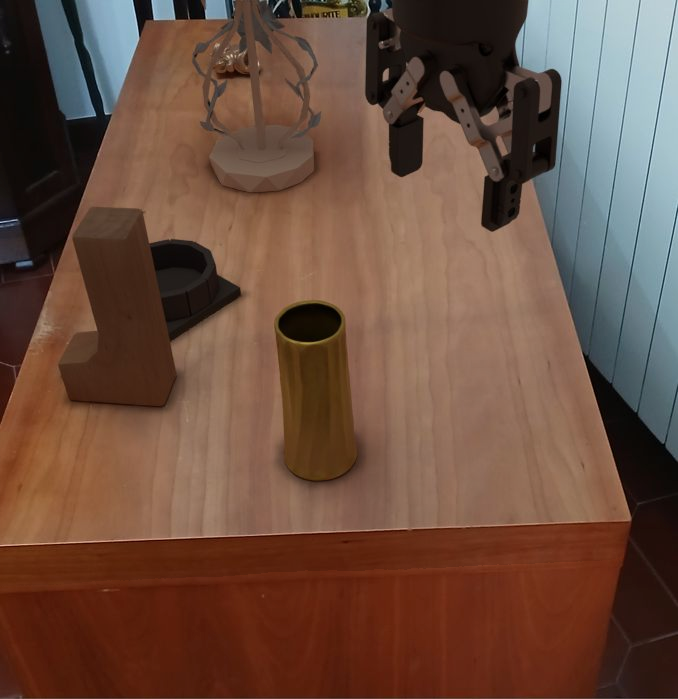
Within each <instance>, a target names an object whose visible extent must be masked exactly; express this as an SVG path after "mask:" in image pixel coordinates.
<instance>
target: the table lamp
mask: <svg viewBox="0 0 678 699" xmlns="http://www.w3.org/2000/svg"><path fill="white" fill-rule="evenodd" d="M200 2H201V5H202V7H203V9H204V11H206V10H207V0H200ZM287 2H288V8H289V9H290V8H291V3H292V0H287ZM232 4H233V8H234V10H233V11H232V14H231V16H232V17H234V18H233V19H232V20H229V21H228V22H226V23H225V24H223V25H222V26H220V29H221V30H219V31H218V33H216V34H215V35H214V36H213V37H212V38H211V39H210V40H207V41H206V42H201V41H200V42H198V43H196V45H195V48H194V51H193V52H192V57H191V58H192V60H191V63H192V65H193V66H194V68H195V70H196V71H197V73H198V74H199V75H200V76H202V77H204V79H203V82H202V86H201V87H202V97H203V105H204V108H205V110H206V112H207V115H206V119H205V121H203V120H198V121H199V124H200V126H201V128H202V129H204V130H205V131H209V132H214V133H217V134H219V135H223V136H221V137H219V138H217V140H216V142H215V144H214V146H213V148H212V151H211V153H210V154H209V161H210V165H211V168H212V170H213V172H214V173H215V176H216V178H217V179H218V181H219V184H220V185H221V186H223V187H226V188H231V189H235V190H239V191H243V192H245V193H246V192H247V193H250V194H251V193H264V192H265V193H266V192H279V191H283V190H285V189H287V188H290V187H293V186H295V185H298V184H300V183H303V181H304V180H306V179H307V178H308V177H309V176H310V175H311V174H313V172H315V156H314V153H315V152H314V143H313V142H314V141H313V140H314V139H313V138H312V137H311V136H309V135H308V134H307V133H308V132H309V131H310V130H311V129H314V128H316V127H318V126H319V125H320V122H321V118H322V111H319V112H318V113H316V114H315V112H314V111H313V109H312V108H311V107H310V102H311V90H310V86H309V83H308V82H309V81H311V78H312V77H313V75H314V73H315V72H316V70H317V69H318V67H319V64H318V61H317V57H316V54H315V53H314V50H313V48H312V46H311V45H310V43H309V41H308V40H307V39H305V38H304V37H301V36H296V35H294V36H292V35H290V34H289V33H286V32H284V31H283V30H280V29H284V28H286V25H285V24H283V22H281V21H279V20H277V16H276V14H275V13H274V11H273V10H272V8H271V6H270V5H268V1H267V0H261V1H260V0H232ZM274 31H275V32H277V33H279V34H281V35H282V36H285V37H287V38H289V39H290V40H293V41H295V42H297V44H298V46H299V47H300V48H301V50H302V51H304V52H307V53H308V55H309V56H310V58H311V59H312V62H313V67H312V68H311V71H310V73H309V74H308V75H307V76H306V72H305V68H304V67H303V66H302V65H301V64H300V62H299V61H298V60H297V59H296V58H295V57H294V55H293V54H292V53H291V52H290V50H289V49H287V47H286V46H285V45H284V43H283V42H282V41H281V40H280V39H279V38H278V36H276V35H275V33H274ZM236 33H237V34H238V35H239V37H240V40H239V42H238V45H239V51H240V54H241V53H242V52H243V51H245V50H246V49H247V52H248V61H249V70H250V74H249V78H250V87H251V98H252V105H253V115H254V124H255V125H252V126H251V125H250V126H245V127H243V128H241V129H238V130H235V131H233V130H232V129H230V128H229V127H227V125H225V124H223V122H221V121H220V120H219V119H218V117H217V114H216V111H215V106H216V103H217V100H218V98H220V97H222V96H223V94H224V93H225V91H226V89H227V84H228V79H226V80H225V81H224V82H222V83H220V84H218V80H216V79H215V78H212V75H213V74H212V73H213V69H215V67H214V66H215V64H216V63H217V61H218V60H219V58H220V56H221V55H222V53H223V52H224V50H225V48H226V47H227V45H228V44H230V42H231V41H232V39H233V37H234V35H235V34H236ZM224 34H226V35H225V37H224V38H223V40H222V41H221V42H220V46H219V48H218V49H217V51H216V53H215V54H214V56H213V57H212V59H210V61H209V64H208V67H207V71H206V73H204V72H203V71H202V69H201V67H200V66H199V64H198V62H197V60H196V59H197V56H198V55H199V54H203V53H205V52H206V51H207V50H208V48H209V47H210V44H211V43H212V42H214V41H216V40H218V39H219V38H220V37H222V36H223V35H224ZM256 42H258V43H260V44H261V46H262V47H263V48H264V49H265V50H266V51H267V52H269V53H270V54H271V55H273V46H272V44H274V45H275V46H276V47H277V48H278V49H279V51H280V52H281V53H282V54H283V56H284V57H285V58H286V59H287V60H288V62H289V63H290V64H291V65H292V66H293V68H294V69H295V71H296V74H297V76H298V79H299V81H297V83H296V85H295V84H294V83H292V82H291V81H290V80H288V78H286V77H284V80H285V82H286V84H287V85H288V86H289V87H290V88H291V89H292V91H293V92H294V93H295V94H296V96H297V97H299V98H300V99H301V100H302V106H301V110H300V111H301V112H300V116H299V119H298V120H297V121H295V123H294V124H293V125H292V126H290V127H289V126H286V125H282V124H269V125H267V124H266V125H265V119H264V111H263V110H264V109H263V102H262V100H263V99H262V92H261V84H260V83H261V82H260V71H259V72H258V63H257V57H258V53H257V46H256ZM272 42H273V43H272ZM211 82H212V84H213V86H214V88H213V94H212V97H211V100H210V98H209V97H210V96H209V94H210V88H211ZM300 85H301V87H302V90H303V92H302V91H301V87H300ZM309 113H310V119H309V120H308V122H307V127H306V128H304V129H303V130H300V129H299V128H300V127H301V125H303V124H304V123H305V122H306V120H307V119H308V118H309ZM211 121H212V122H211ZM212 123H213V124H214V125H215V126H216V127H217V128H219V129H217V128H215V127H214V125H213V124H212Z"/></svg>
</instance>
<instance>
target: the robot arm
mask: <svg viewBox="0 0 678 699" xmlns="http://www.w3.org/2000/svg"><path fill="white" fill-rule="evenodd" d="M529 1H530V0H391V7H390V8H388V9H384V10H382V11H378V12H376V13H373V14H370V15H368V16H367V18H366V28H365V30H366V34H365V35H366V36H365V79H364V80H365V81H364V95H365V99H366V101H367V103H368V104H369V105H371V106H376V105H378V106H379V107H380V108H381V109H382V115H383V116H382V117H383V119H384V121H385V122H386V123H387V124H388V157H389V161H390V172H391V173H393V174H394V175H396V176H398V177H399V178H404V177H406V176H409V175H411V174H413V173H416V172H418V171H419V170H420V169H421V168H422V166H423V163H424V162H423V161H424V160H423V159H424V157H423V156H424V154H423V153H424V120H425V119H424V117H423V116H421V115H420V113H422V112H423V110H424V109H425V108H427V109H428V110H431V111H433V112H440V113H442V114H444V115H445V116H446V117H447V118H448V119H450V121H453V122H455V123H456V124H458V125H460V127H461V129H462V131H463V134H464V136H465V139H466V141H467V143H468V144H469V145H470V146H471V147H473V148H476V149H477V150H478V153H479V156H480V158H481V160H482V163H483V165H484V168H485V170H486V173H487V175H485V176H484V180H483V191H482V192H483V193H482V204H481V206H482V207H481V218H480V225H481V227H482V228H484V229H485V230H487V231H489V232H492V233H493V232H496V231H497V230H499V229H502V228H504V227H505V226H507V225H509V224H511V222H512V221H514V220H516V219H517V218H518V216H519V215H520V209H521V202H522V201H521V199H522V190H523V184H526V183H528V182H529V181H530V180H532V179H534V178H536V177H539V176H540V175H542V174H545V173H548V172H550V171H552V170H553V169H554V168H556V161H557V148H558V134H559V124H560V112H561V111H560V110H561V109H560V108H561V99H562V98H561V97H562V85H563V82H562V81H563V80H562V76H561V74H560V73H559V71H558V70H557V69H554V68H549V69H546V70H543V71H542V72H537V71H533V70H530V69H528V68H524V67H522V66H521V65H520V62H519V59H518V54H517V48H516V43H517V39H518V38H519V34H520V32H521V30H522V28H523V26H524V24H525V22H526V20H527V18H528V12H529V11H528V10H529V3H530V2H529ZM386 70H388V74H387V75H388V76H387V77H388V78H387V79H385V80H384V72H385V71H386ZM495 108H496V110H497V113H498V118H497V121H496V122H494V123H492V124H490V125H489V124H488V125H487V124H485V123H484V122H483V121H482V119H481V118H483V117H485V116H487V115H489V114H490V113H491V112H492V111H493V110H494V109H495ZM497 137H500V138H501V139H502V142H503V144H504V147H505V150H506V152H507V153H506V154H504V155H503V154H502V152H501V150H500V147H499V144H498V142H497Z"/></svg>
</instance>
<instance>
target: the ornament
mask: <svg viewBox="0 0 678 699" xmlns="http://www.w3.org/2000/svg"><path fill="white" fill-rule="evenodd" d="M220 45H221V42H220V41H217V42H215V44H214V46H213V48H212V50H211V52H210V53H209V57H210V60H211V59H212V57H213V56H214V54H215V53H216V51H217V49H218V48H219V46H220ZM257 63H258V72H259V73H260V71H261V68H262V65H261V61H260V59H259V57H258V56H257ZM214 70H215V72H216V73H217V74H224V73H227V72H229V73H233V72H235V71H237V72H238V73H239V74H242V75H250V70H249V61H248V52H247V49H246V50H245V51H243V52H242V53H241V54H240V51H239V44H236V43H233V44H230V43H229V44H228V45H227V47H226V48H225V50H224V52H223V53H222V55H221V56H220V58H219V60H218V61H217V63H216V64H215V66H214Z"/></svg>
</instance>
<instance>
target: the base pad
mask: <svg viewBox="0 0 678 699" xmlns="http://www.w3.org/2000/svg"><path fill="white" fill-rule="evenodd" d="M149 244H150V249H151V254H152V259H153V263H154V268H155V273H156V278H157V283H158V287H159V292H160V297H161V302H162V306H163V311H164V316H165V320H166V325H167V330H168V335H169V339H170V342H171V341H172V340H174V339H175V338H177V337H179V336H181V334H184V333H185V332H186V331H188V330H189V329H191V328H192V327H194V326H196V325H197V324H199V323H200V322H202V321H203V320H205V319H206V318H208V317H209V316H211V315H213V314H214V313H216V312H217V311H218V310H220V309H222V308H223V307H225V306H227V305H228V304H230V303H231V302H233V301H234V300H236V299H238V298H239V297H240V296H242V292H241V287H240V286H238V285H236V284H235V283H233V282H231V281H230V280H228V279H226V278H224V277H223V276H221V275H219V274H218V271H217V265H216V262H215V261H216V260H215V257H214V256H213V252H212V251H211V250H210V249H209V248H208V247H205V246H204V245H202V244H200V243H198V242H197V241H193V240H187V239H177V238H170V239H169V238H168V239H167V238H166V239H162V240H157V241H153V242H149Z"/></svg>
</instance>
